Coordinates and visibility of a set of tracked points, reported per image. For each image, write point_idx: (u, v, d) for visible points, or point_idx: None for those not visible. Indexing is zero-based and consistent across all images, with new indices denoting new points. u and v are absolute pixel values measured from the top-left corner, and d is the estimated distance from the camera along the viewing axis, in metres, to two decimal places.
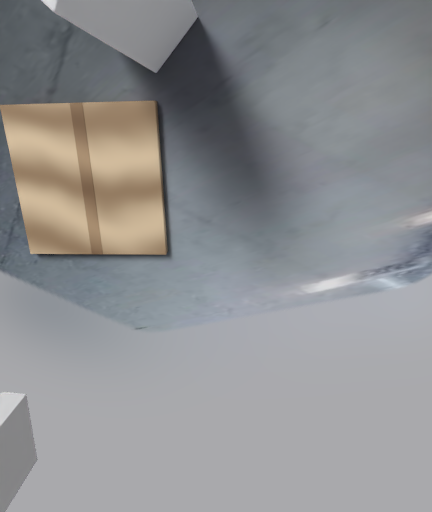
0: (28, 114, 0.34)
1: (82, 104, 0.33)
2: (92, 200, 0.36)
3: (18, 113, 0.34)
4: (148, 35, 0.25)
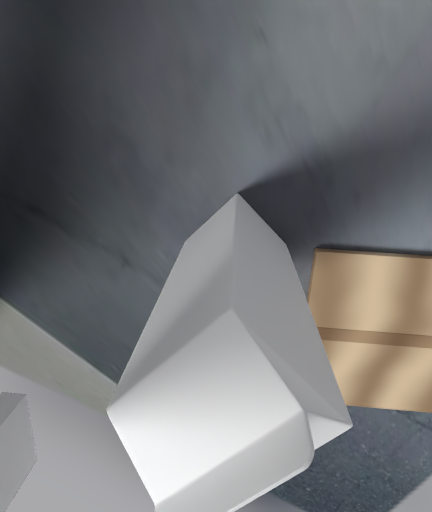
0: None
1: None
2: (413, 337, 0.31)
3: None
4: (280, 262, 0.22)
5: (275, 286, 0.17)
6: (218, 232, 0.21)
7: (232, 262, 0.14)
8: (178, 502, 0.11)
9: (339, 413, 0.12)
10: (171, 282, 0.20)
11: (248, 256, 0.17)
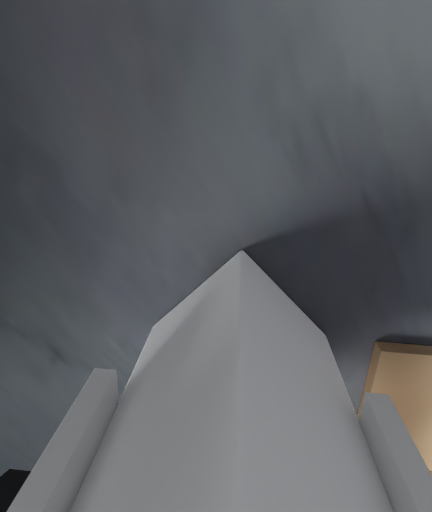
0: None
1: None
2: None
3: None
4: (342, 449, 0.09)
5: None
6: (197, 385, 0.09)
7: None
8: None
9: None
10: None
11: None
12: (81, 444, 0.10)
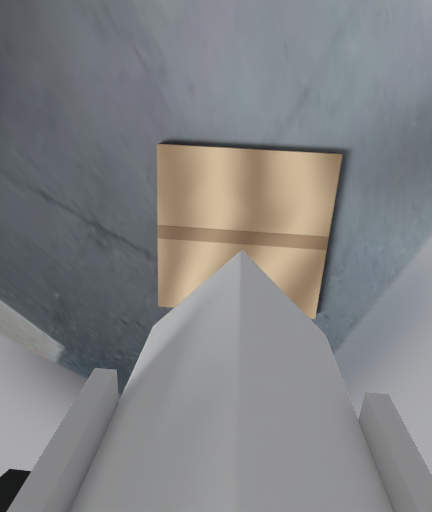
0: (167, 281, 0.34)
1: (159, 225, 0.32)
2: (261, 235, 0.31)
3: (166, 291, 0.34)
4: (342, 449, 0.09)
5: None
6: (197, 386, 0.09)
7: None
8: None
9: None
10: None
11: None
12: (81, 444, 0.10)
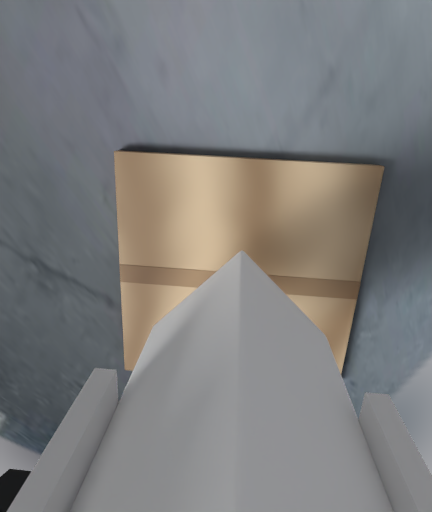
0: (136, 338, 0.25)
1: (122, 264, 0.23)
2: None
3: (135, 350, 0.25)
4: (342, 450, 0.09)
5: None
6: (197, 386, 0.09)
7: None
8: None
9: None
10: None
11: None
12: (81, 444, 0.10)
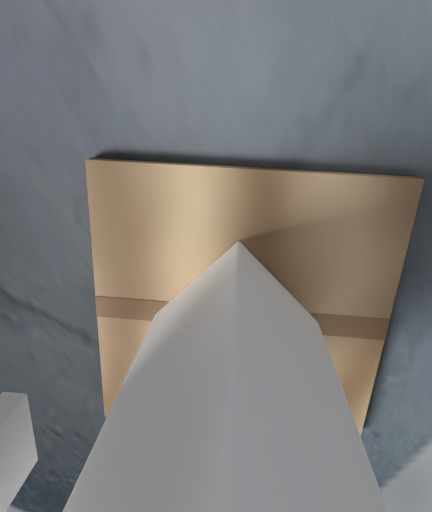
0: (117, 382, 0.20)
1: (98, 296, 0.19)
2: None
3: (116, 395, 0.21)
4: (326, 415, 0.10)
5: None
6: (196, 357, 0.10)
7: None
8: None
9: None
10: (91, 475, 0.09)
11: None
12: None
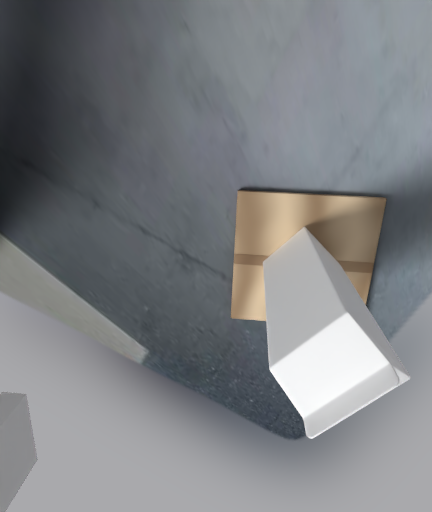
0: (239, 298, 0.41)
1: (235, 253, 0.40)
2: None
3: (238, 305, 0.42)
4: (345, 280, 0.31)
5: (352, 298, 0.26)
6: (303, 260, 0.31)
7: (332, 284, 0.24)
8: (320, 414, 0.20)
9: (403, 370, 0.21)
10: (272, 294, 0.30)
11: (335, 279, 0.26)
12: None
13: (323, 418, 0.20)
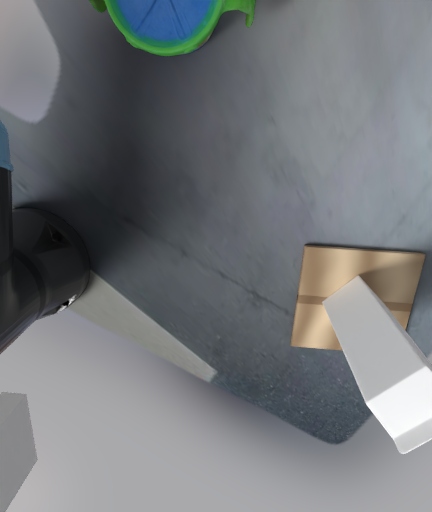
0: (300, 330, 0.50)
1: (299, 295, 0.48)
2: None
3: (298, 336, 0.51)
4: None
5: (414, 346, 0.35)
6: (368, 310, 0.40)
7: (405, 339, 0.33)
8: (407, 436, 0.29)
9: None
10: (346, 337, 0.39)
11: None
12: None
13: (410, 439, 0.29)
